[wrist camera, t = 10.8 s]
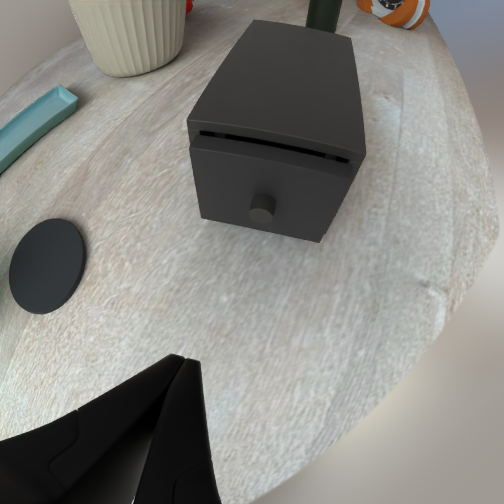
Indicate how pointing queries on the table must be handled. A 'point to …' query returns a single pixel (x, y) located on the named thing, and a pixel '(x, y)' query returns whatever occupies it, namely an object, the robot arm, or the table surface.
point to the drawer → (267, 184)
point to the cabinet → (287, 92)
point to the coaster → (47, 266)
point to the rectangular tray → (34, 123)
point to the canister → (131, 33)
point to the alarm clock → (397, 11)
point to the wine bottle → (323, 15)
